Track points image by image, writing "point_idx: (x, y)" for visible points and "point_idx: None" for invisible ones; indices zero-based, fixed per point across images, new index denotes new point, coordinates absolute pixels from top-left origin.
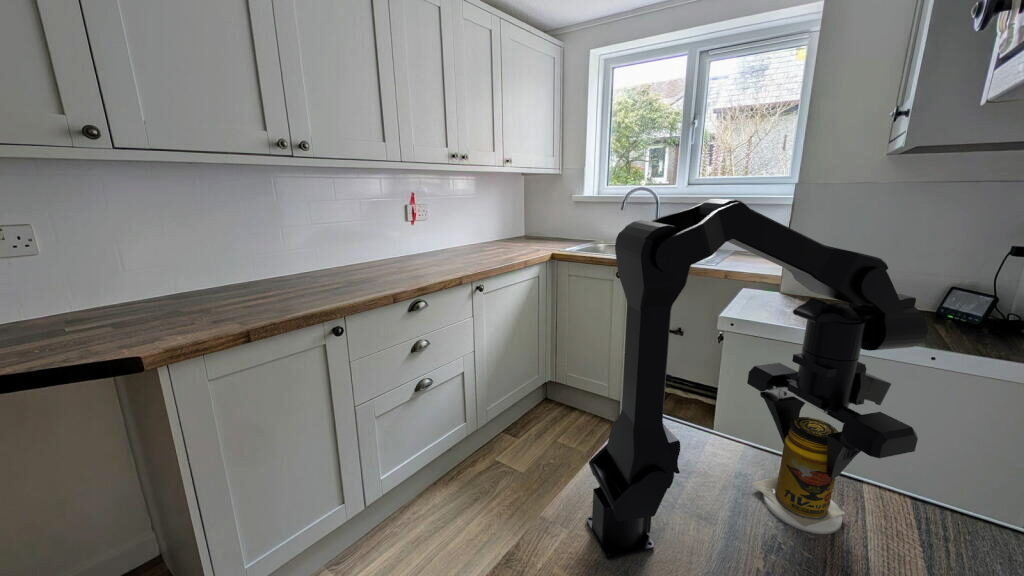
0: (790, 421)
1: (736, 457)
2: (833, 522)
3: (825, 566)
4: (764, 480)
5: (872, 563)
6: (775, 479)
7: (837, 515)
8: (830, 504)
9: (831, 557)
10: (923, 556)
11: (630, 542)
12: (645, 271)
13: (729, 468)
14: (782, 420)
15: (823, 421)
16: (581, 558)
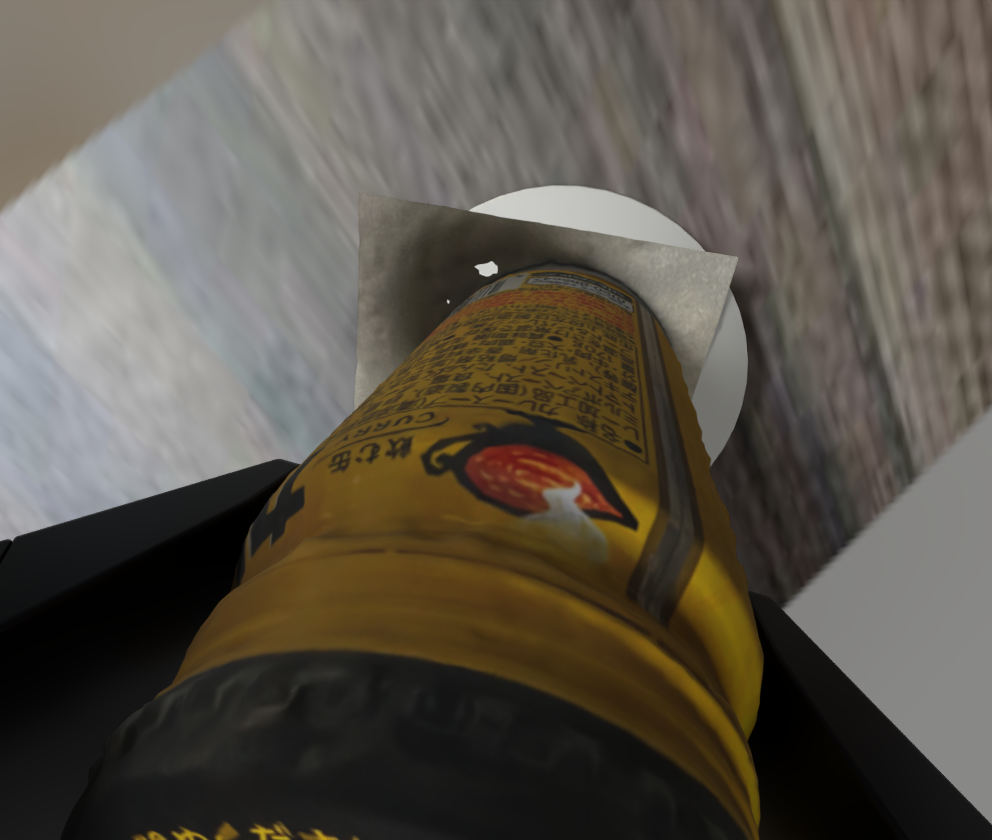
0: (78, 715)
1: (153, 280)
2: (721, 387)
3: (784, 602)
4: (361, 388)
5: (925, 443)
6: (376, 327)
7: (716, 325)
8: (649, 259)
9: (783, 545)
10: None
11: None
12: None
13: (222, 396)
14: (60, 828)
15: (304, 811)
16: None
